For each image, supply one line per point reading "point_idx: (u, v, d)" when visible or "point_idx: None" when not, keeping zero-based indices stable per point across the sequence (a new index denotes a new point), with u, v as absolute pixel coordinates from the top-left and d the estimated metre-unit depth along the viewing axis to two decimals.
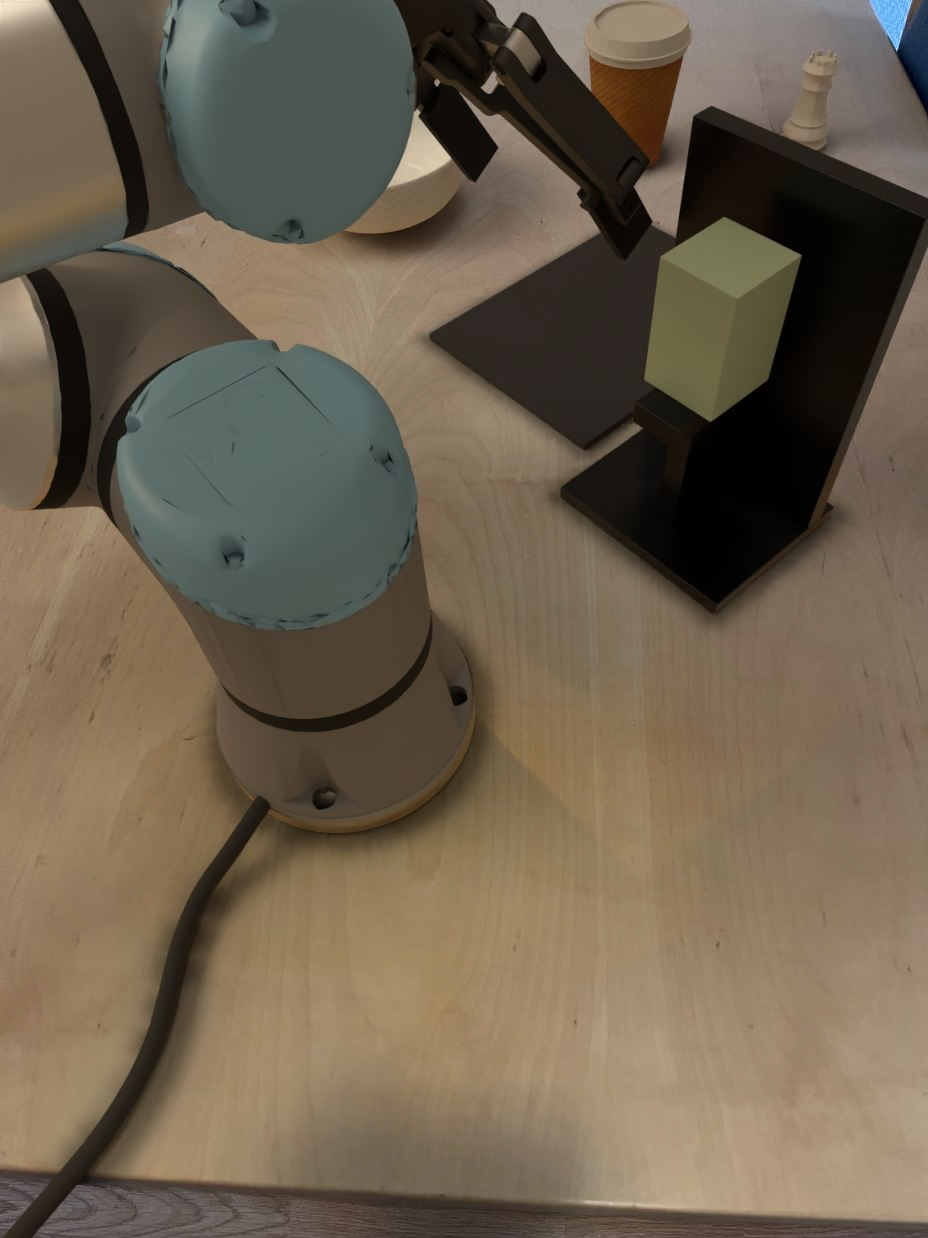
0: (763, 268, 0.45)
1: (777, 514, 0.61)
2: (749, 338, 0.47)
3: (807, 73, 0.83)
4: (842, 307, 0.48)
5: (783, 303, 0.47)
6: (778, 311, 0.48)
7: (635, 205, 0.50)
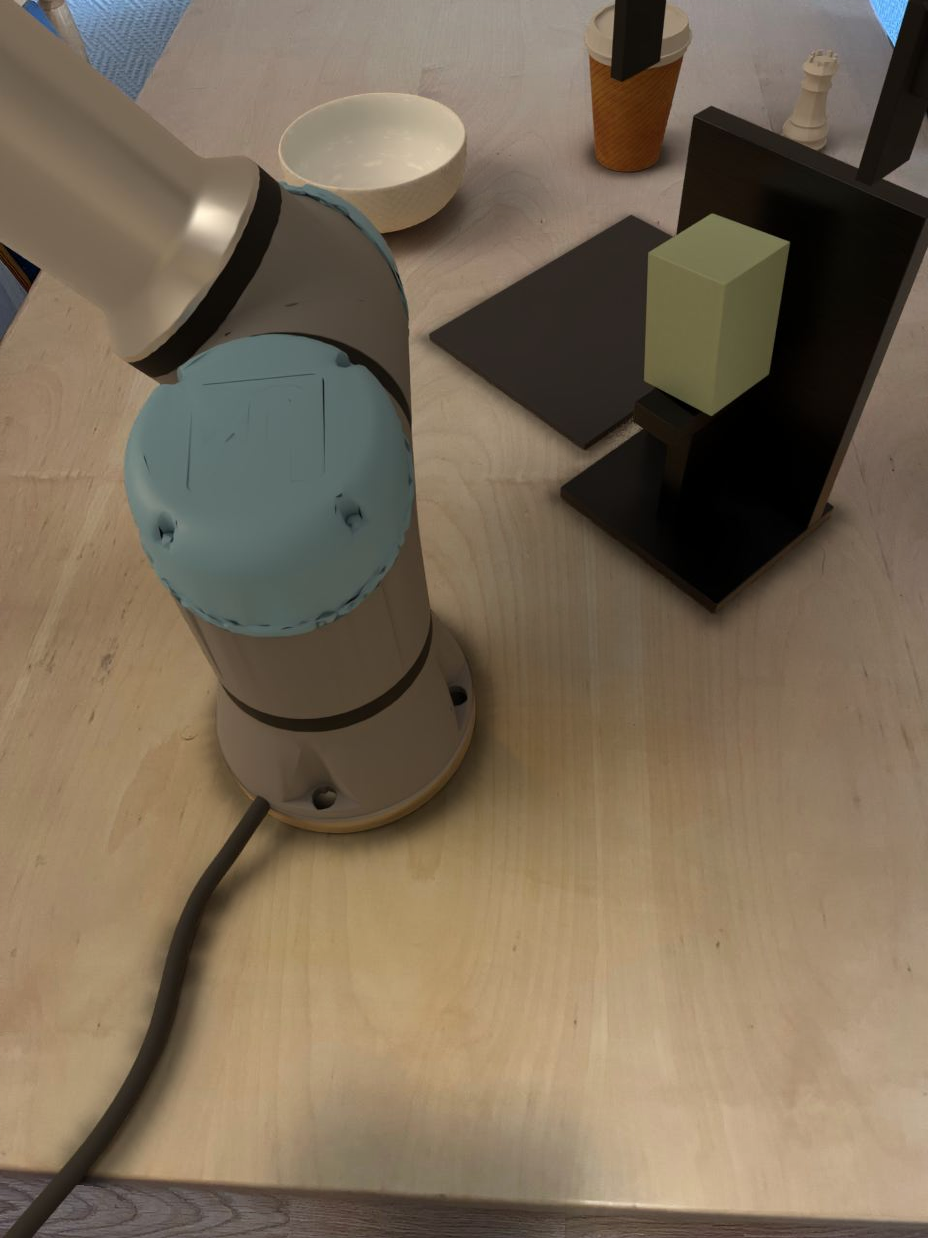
0: (751, 256, 0.45)
1: (777, 514, 0.61)
2: (744, 328, 0.47)
3: (807, 73, 0.83)
4: (842, 307, 0.48)
5: (776, 291, 0.47)
6: (771, 300, 0.48)
7: None
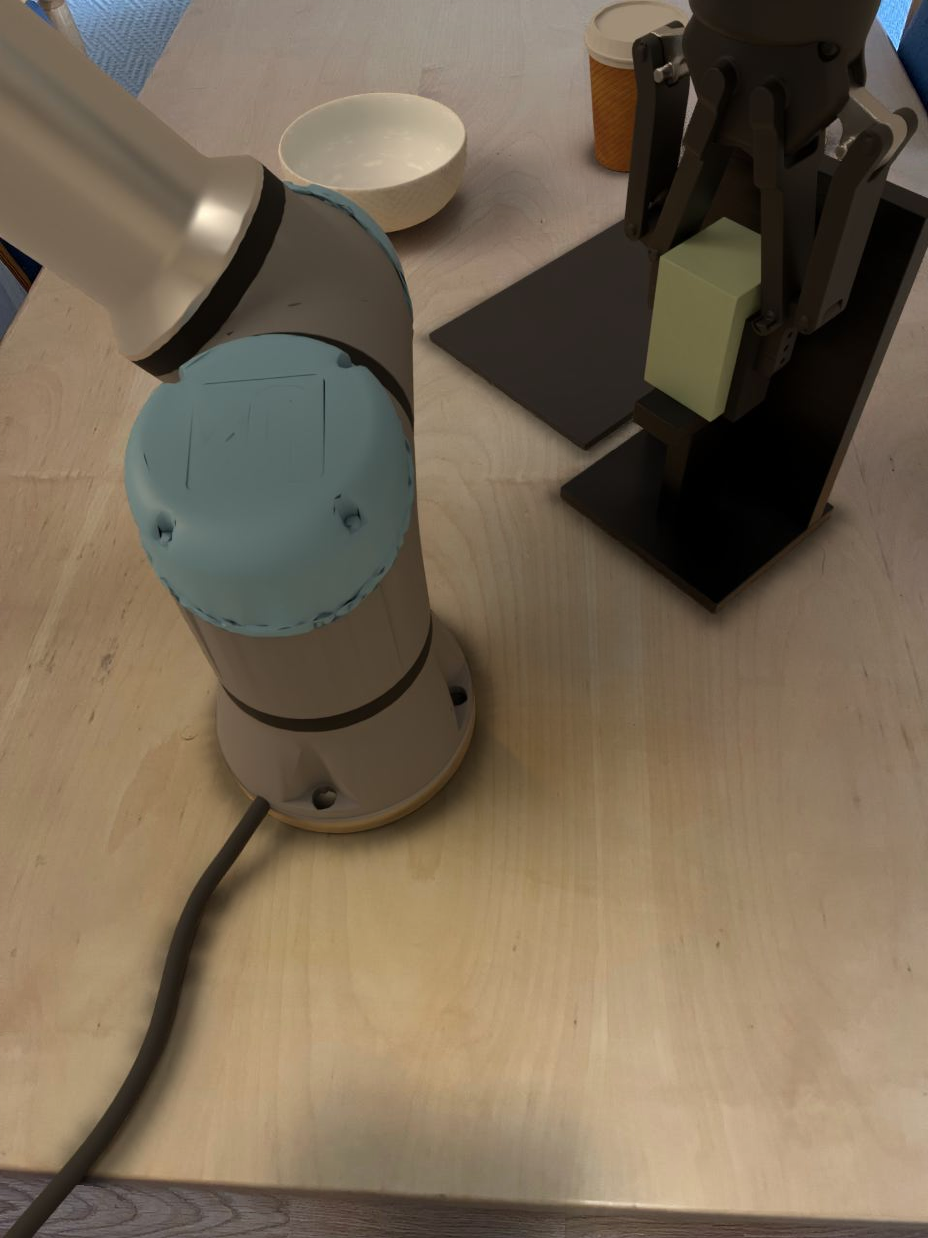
0: None
1: (777, 514, 0.61)
2: None
3: None
4: None
5: None
6: None
7: (785, 360, 0.47)
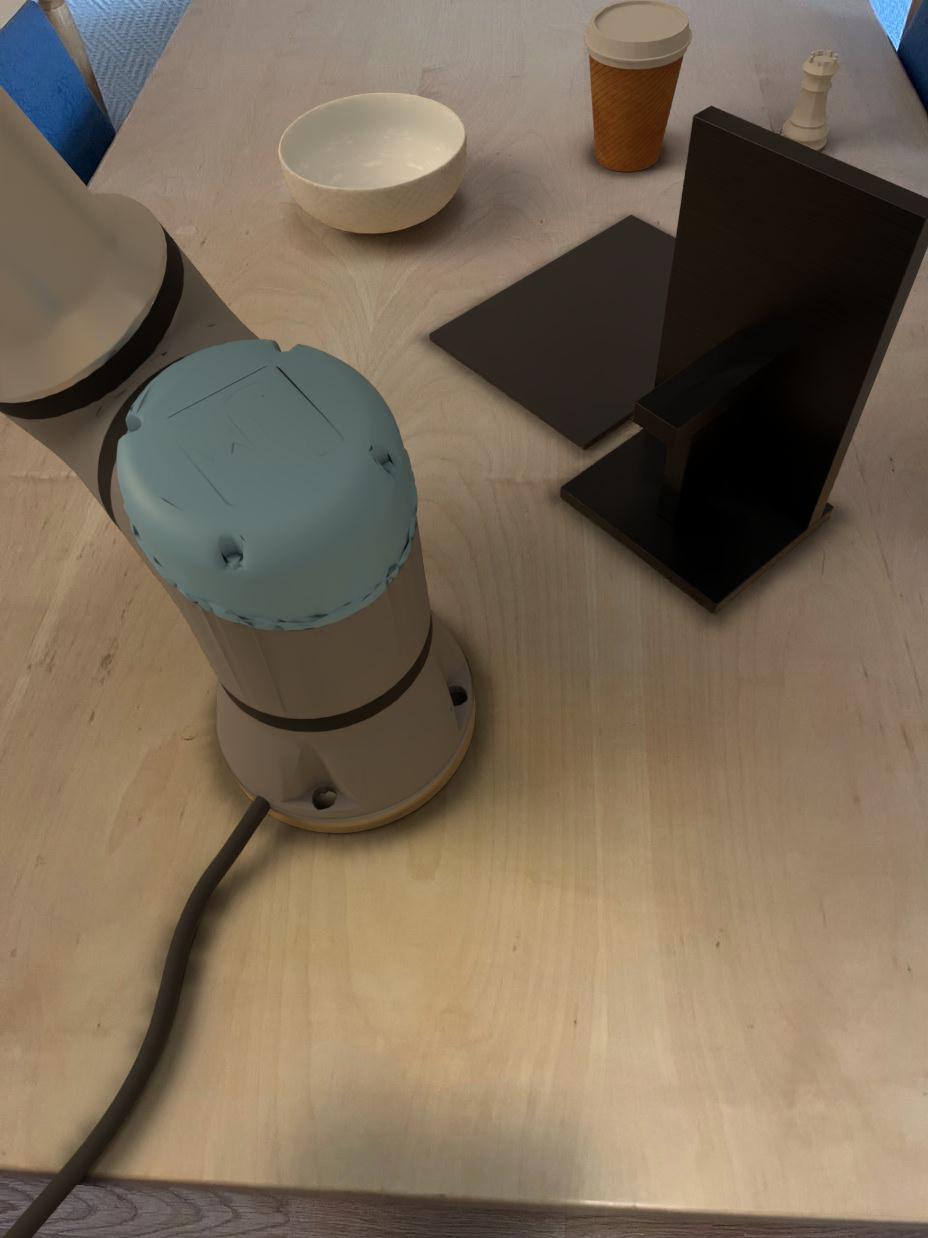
0: None
1: (777, 514, 0.61)
2: None
3: (807, 73, 0.83)
4: (842, 307, 0.48)
5: None
6: None
7: None
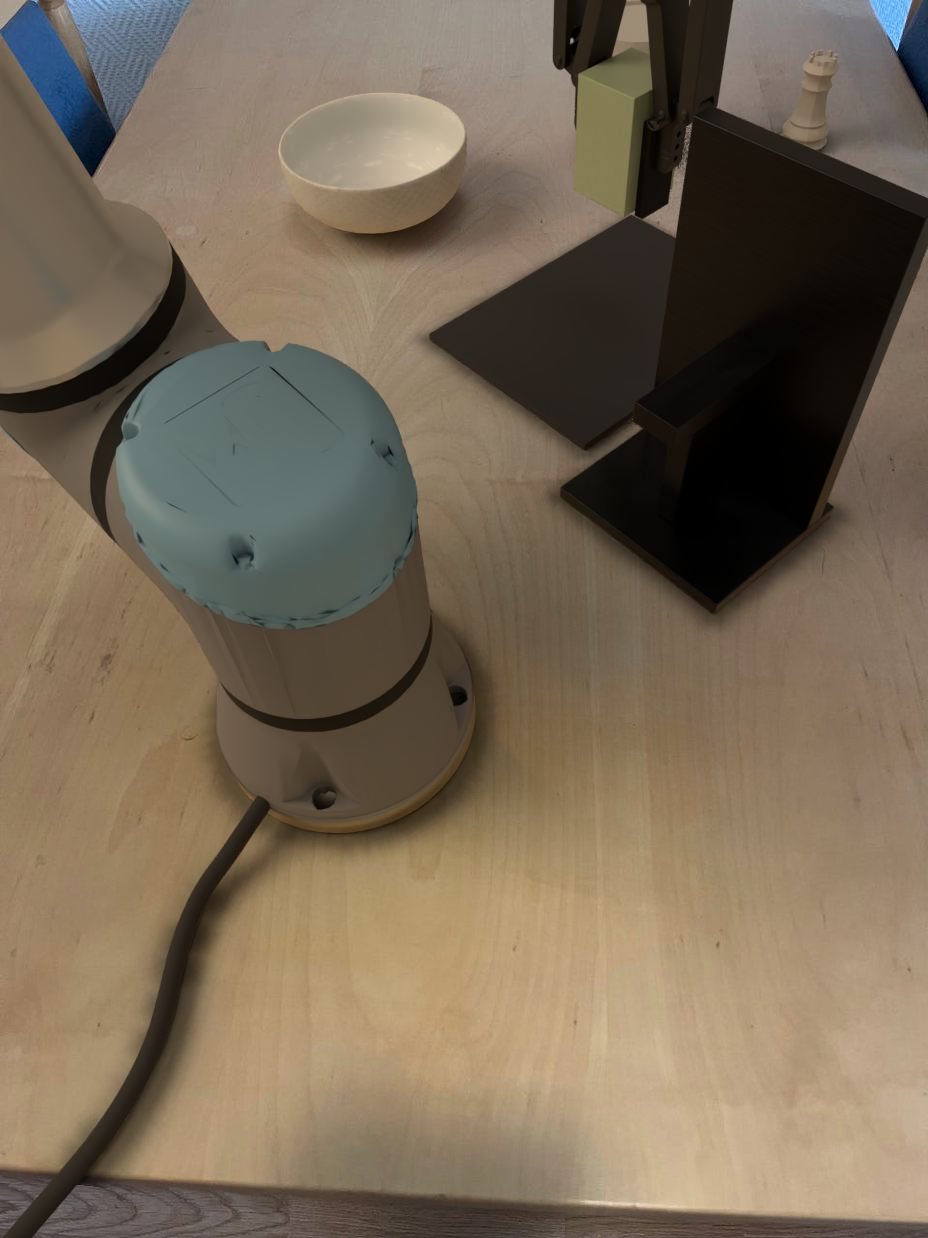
0: None
1: (777, 514, 0.61)
2: None
3: (807, 73, 0.83)
4: (842, 307, 0.48)
5: None
6: None
7: (678, 159, 0.60)
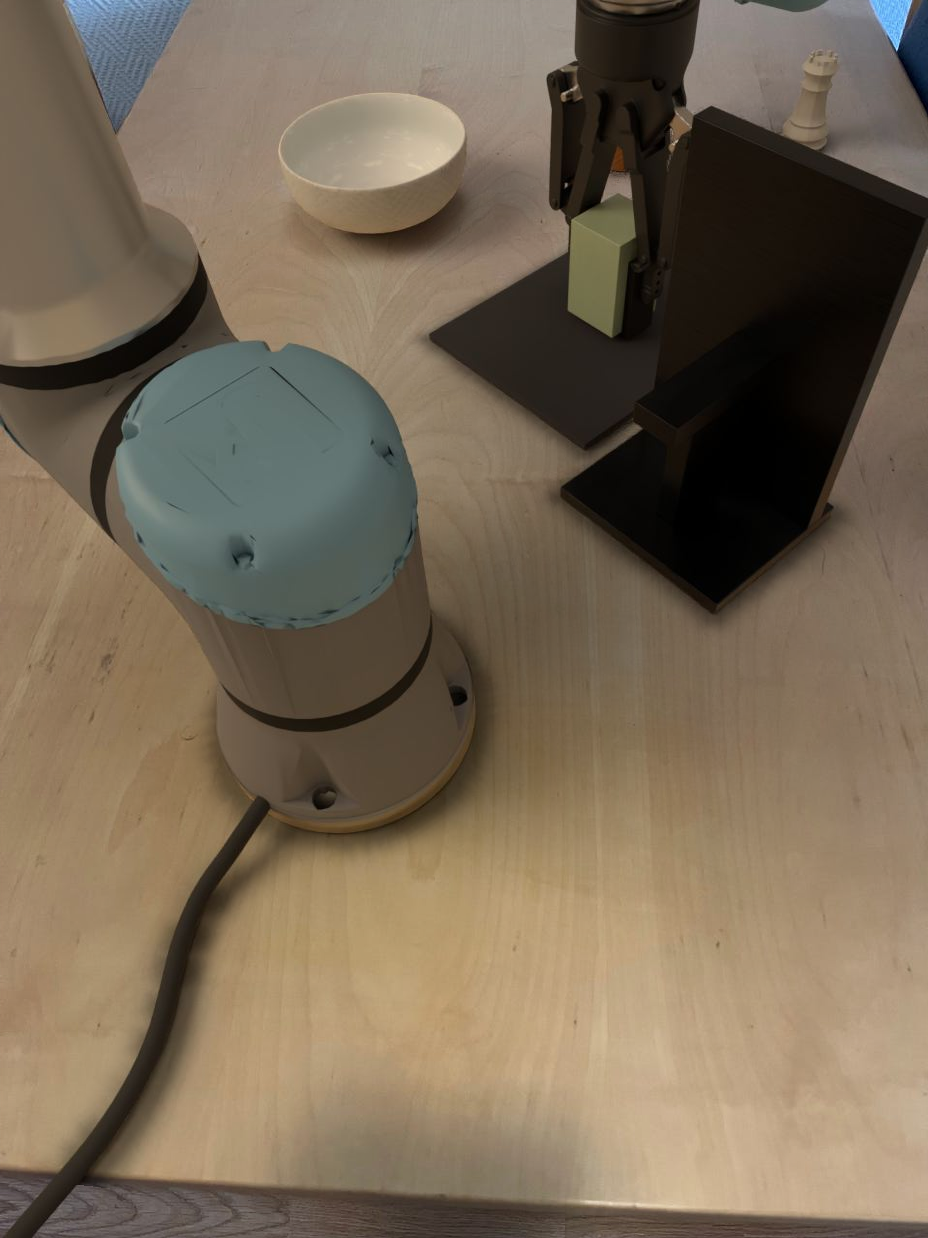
0: None
1: (777, 514, 0.61)
2: None
3: (807, 73, 0.83)
4: (842, 307, 0.48)
5: None
6: None
7: (659, 292, 0.69)
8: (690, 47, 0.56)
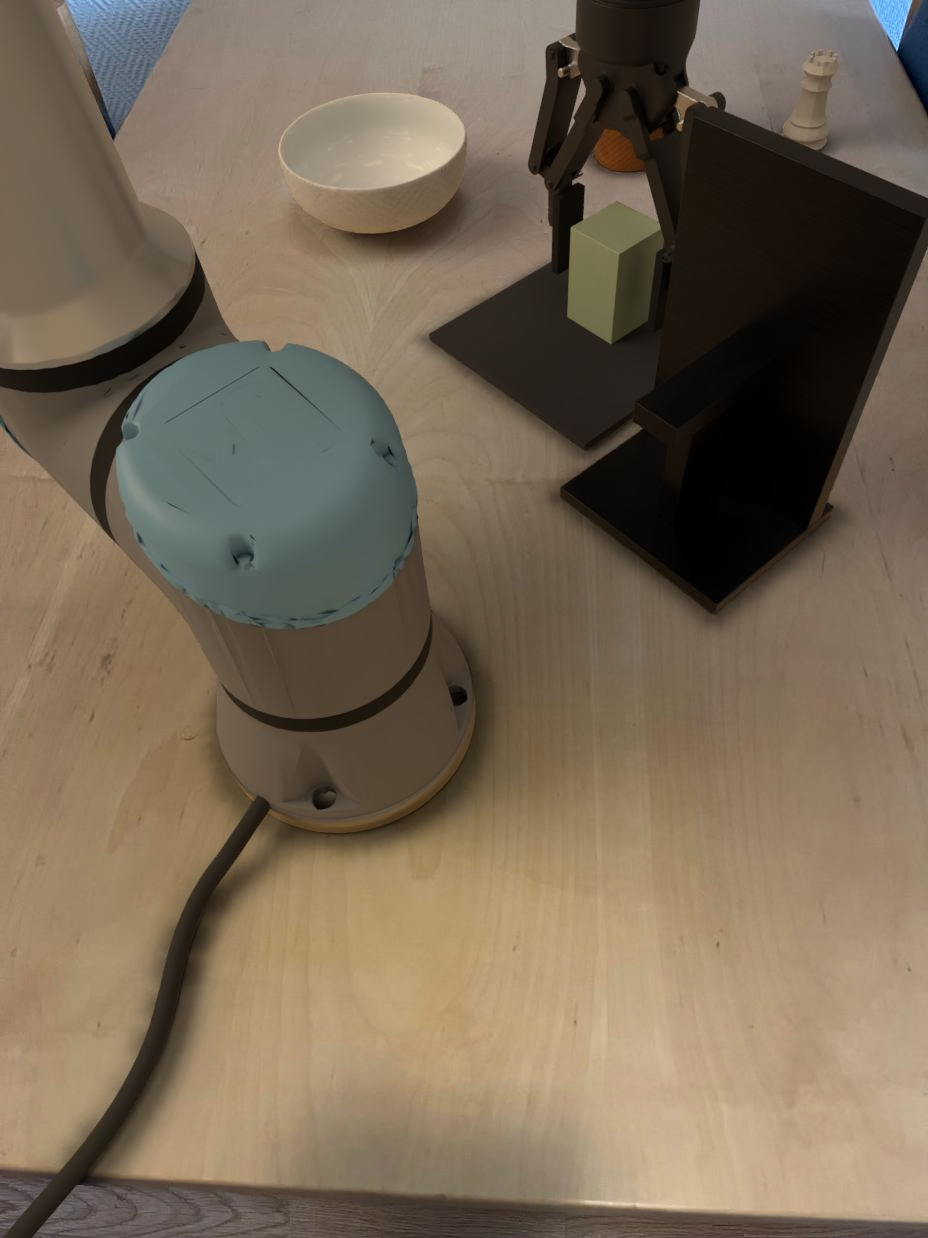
0: (638, 234, 0.67)
1: (777, 514, 0.61)
2: (633, 284, 0.69)
3: (807, 73, 0.83)
4: (842, 307, 0.48)
5: None
6: (653, 265, 0.69)
7: None
8: (693, 31, 0.55)
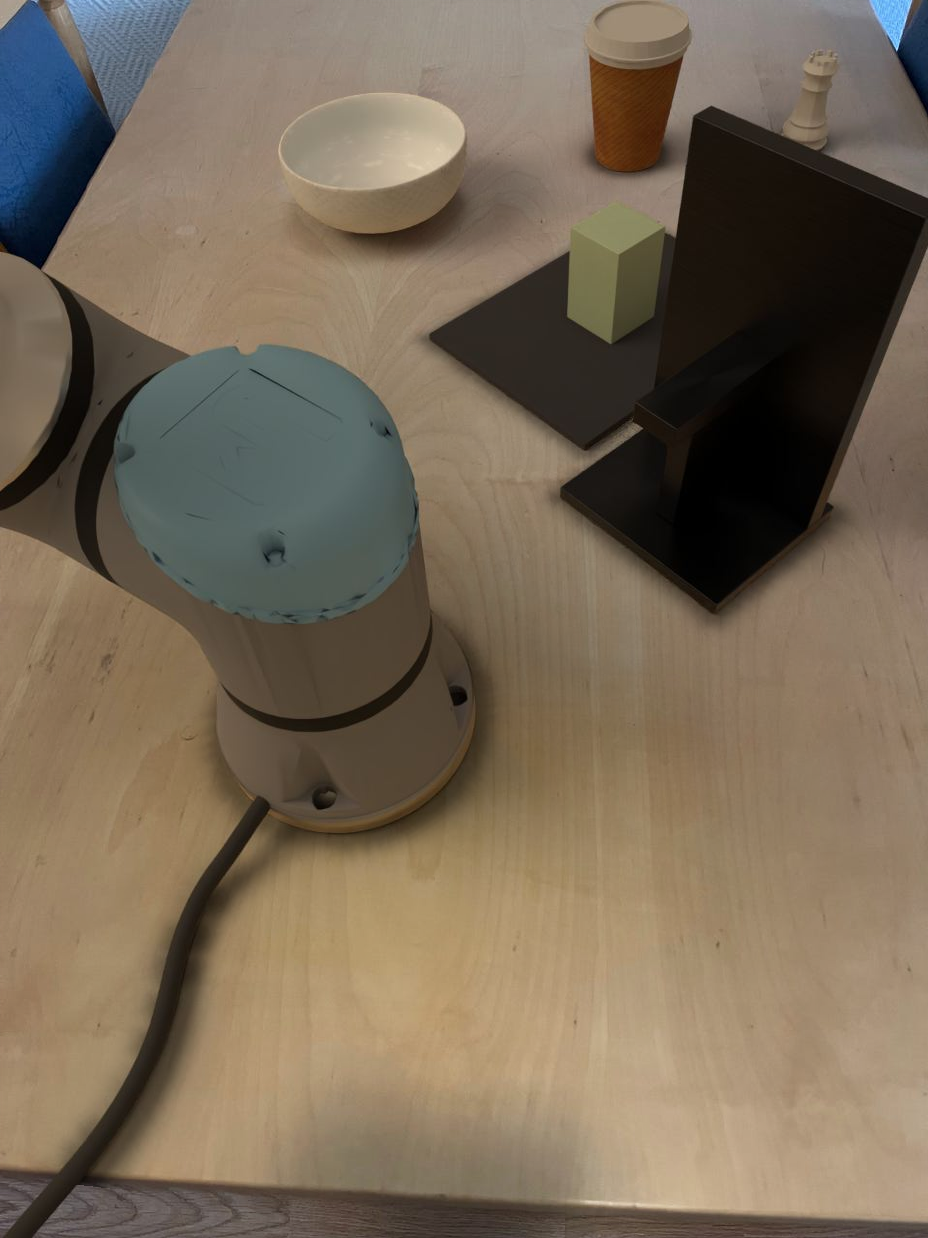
0: (638, 234, 0.67)
1: (777, 514, 0.61)
2: (633, 284, 0.69)
3: (807, 73, 0.83)
4: (842, 307, 0.48)
5: (657, 259, 0.69)
6: (653, 265, 0.69)
7: None
8: None
